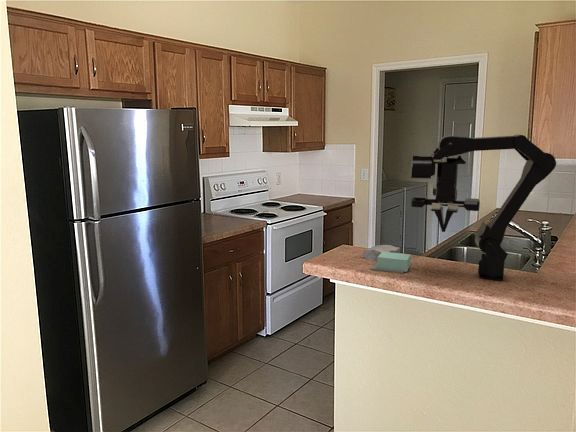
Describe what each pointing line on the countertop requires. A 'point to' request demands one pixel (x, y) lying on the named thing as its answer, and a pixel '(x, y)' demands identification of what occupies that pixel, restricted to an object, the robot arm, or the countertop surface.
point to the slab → (394, 261)
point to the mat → (384, 269)
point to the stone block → (379, 251)
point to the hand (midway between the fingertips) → (443, 231)
